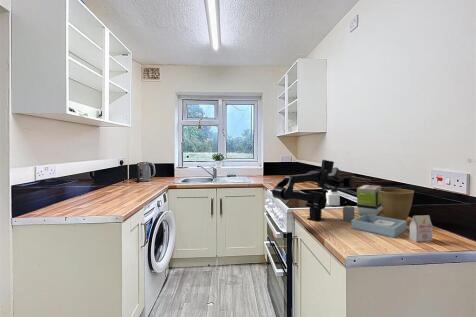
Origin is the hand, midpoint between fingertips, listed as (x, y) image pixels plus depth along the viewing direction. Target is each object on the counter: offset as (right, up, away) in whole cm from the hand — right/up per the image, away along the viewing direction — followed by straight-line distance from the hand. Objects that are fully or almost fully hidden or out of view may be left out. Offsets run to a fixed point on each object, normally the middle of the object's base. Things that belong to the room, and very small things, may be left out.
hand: (345, 186), depth 152 cm
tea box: (+15, -15, +2) cm, 21 cm away
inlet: (+5, -16, -32) cm, 36 cm away
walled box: (+3, -16, -30) cm, 34 cm away
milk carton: (+12, -17, -45) cm, 49 cm away
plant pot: (+17, -16, -20) cm, 30 cm away
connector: (-5, -16, -16) cm, 23 cm away
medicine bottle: (+1, -14, +23) cm, 27 cm away
